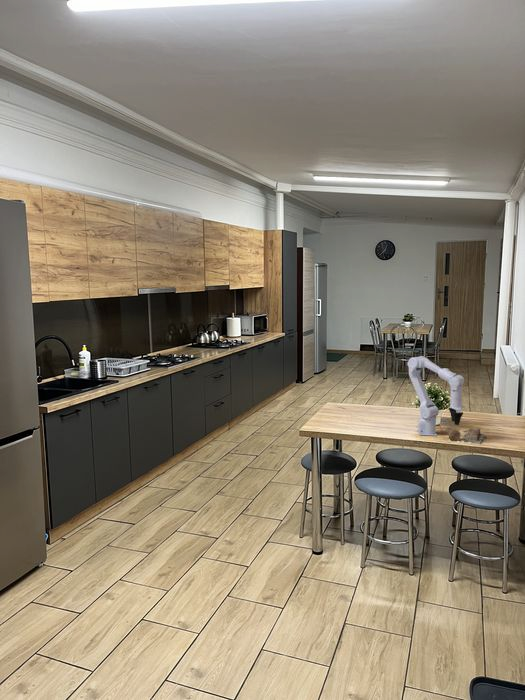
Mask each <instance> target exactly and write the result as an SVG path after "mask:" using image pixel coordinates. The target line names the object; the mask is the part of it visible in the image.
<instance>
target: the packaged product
mask: <svg viewBox="0 0 525 700" xmlns="http://www.w3.org/2000/svg"><path fill="white" fill-rule="evenodd" d="M484 438H485V433H481V428H479V427H470V428H468V429H467V430H466V431H465V433H464V434H463V436H462V438H460V442H461V441H464V442H463V443H467V442H471V443H470V444H475V443H477V445H481V443H482V442H483V441H484Z"/></svg>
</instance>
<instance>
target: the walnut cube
mask: <svg viewBox="0 0 525 700" xmlns="http://www.w3.org/2000/svg"><path fill="white" fill-rule="evenodd" d="M449 439H450V440H451V441H450V440H449ZM448 440H449V441H450V442H457V441H460V442H461V431H460V430H459V429H448Z"/></svg>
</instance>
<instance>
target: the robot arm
mask: <svg viewBox="0 0 525 700" xmlns="http://www.w3.org/2000/svg"><path fill="white" fill-rule="evenodd" d="M406 365H407V366H408V376H409V378H410V380H411V383H412V385H413V388H414V390H415V392H416V395H417V398H418V400H419V402H420V404H419V407H418V408H419V412H420V413H419V414H420V416H421V417H418V419H417V420H418V422H417V423H418V426H417V433H418V435H419V436H433V437H435V436H438V434H437V433H436V432H437V431H436V429H437V428H436V427H437V416H438V415H439V412H440V411H439V408H438V406H437V405H435V402H433V401H432V400H431V398H430V396H429V394H428V391H427V389H426V387H425V384H424V382H423V379H422V377H421V372H422V370H423V369H425V368H426V369H428V370H430V371H432V372H434V373H436V374H437V375H438V377H439V378H440V379H442V380H443V381H445V382H447V383H448V384H449V387H450V399H449V401H450V402H449V403H450V404H449V408H448V410H449V413H450V418H451V421H452V422H454V425H455V426H459V425H460V423H461V419H462V417H463V415H464V412H463V411H461V409H464V408H465V406H464V405H463V404H462V402H463V401H462V400H463V399H462V398H463V385H464V384H465V378H464V377H463V376H462V375H461V374H457V373H456V372H452V371H450V369H449V368H445V367H444V368H441V367H440V366H439V365H437V364H435V363H434V362H432V361H431V360H430V359H428V357H425V356H423V355H420V356H416V357H415V356H414V357H410V358H409V359H408V361H407V364H406Z"/></svg>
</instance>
